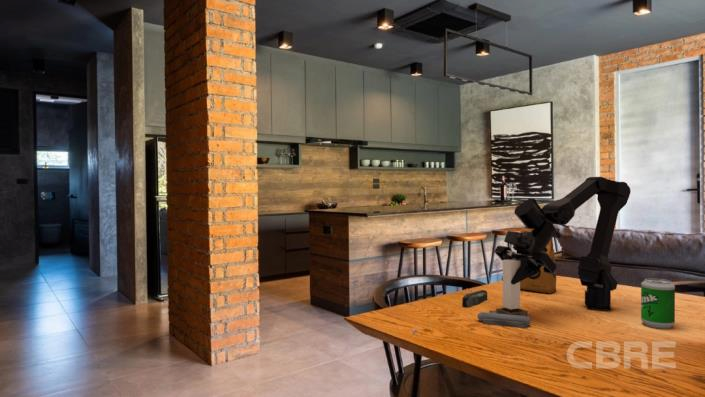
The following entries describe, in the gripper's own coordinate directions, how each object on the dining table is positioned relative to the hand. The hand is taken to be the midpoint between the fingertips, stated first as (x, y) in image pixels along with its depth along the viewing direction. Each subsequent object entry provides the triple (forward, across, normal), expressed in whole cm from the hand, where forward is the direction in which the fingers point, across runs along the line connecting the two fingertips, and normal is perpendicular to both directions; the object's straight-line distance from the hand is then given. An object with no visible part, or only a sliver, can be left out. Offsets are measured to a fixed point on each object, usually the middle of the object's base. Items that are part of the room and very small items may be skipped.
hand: (507, 282), depth 128 cm
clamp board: (+8, +1, +8) cm, 11 cm away
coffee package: (-17, -26, +34) cm, 46 cm away
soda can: (-16, +19, +32) cm, 41 cm away
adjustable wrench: (+21, -8, -4) cm, 23 cm away
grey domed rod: (+10, +4, +4) cm, 11 cm away
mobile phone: (+7, -17, +10) cm, 21 cm away
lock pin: (+4, 0, +6) cm, 7 cm away
